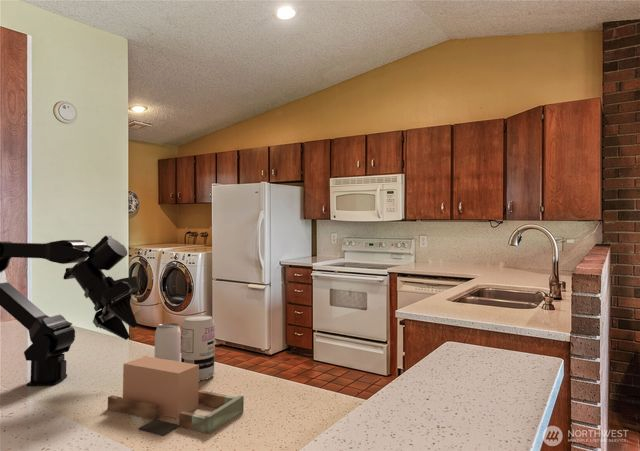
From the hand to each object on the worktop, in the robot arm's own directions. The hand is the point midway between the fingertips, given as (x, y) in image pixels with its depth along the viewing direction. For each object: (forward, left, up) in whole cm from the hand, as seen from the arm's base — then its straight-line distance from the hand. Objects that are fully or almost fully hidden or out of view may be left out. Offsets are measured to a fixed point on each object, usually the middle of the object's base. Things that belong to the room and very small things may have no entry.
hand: (131, 332), depth 100 cm
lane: (+14, -16, -12) cm, 24 cm away
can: (+6, +11, -13) cm, 18 cm away
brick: (+10, -14, -13) cm, 21 cm away
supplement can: (+15, +5, -13) cm, 20 cm away
